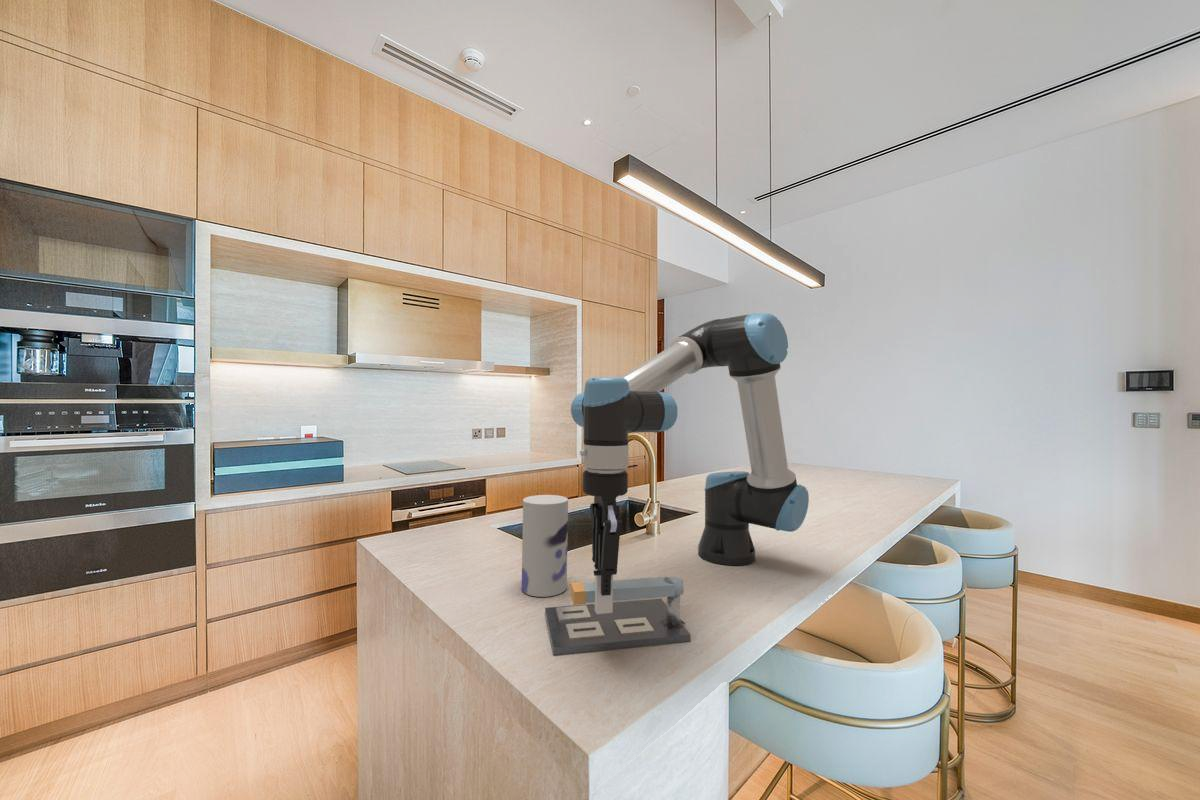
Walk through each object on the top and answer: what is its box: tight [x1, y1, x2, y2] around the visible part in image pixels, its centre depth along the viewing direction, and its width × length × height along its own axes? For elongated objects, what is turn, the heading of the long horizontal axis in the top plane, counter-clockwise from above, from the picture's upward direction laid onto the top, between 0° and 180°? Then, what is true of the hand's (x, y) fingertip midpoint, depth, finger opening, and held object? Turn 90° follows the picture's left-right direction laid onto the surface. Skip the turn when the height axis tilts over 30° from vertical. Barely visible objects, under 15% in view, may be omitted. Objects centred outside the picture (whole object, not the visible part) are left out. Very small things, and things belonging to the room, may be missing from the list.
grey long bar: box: [570, 576, 685, 605], centre depth 82 cm, size 21×4×2 cm, turn 102°
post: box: [661, 595, 686, 629], centre depth 84 cm, size 4×4×7 cm
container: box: [521, 494, 569, 598], centre depth 102 cm, size 10×10×20 cm
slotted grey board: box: [544, 598, 692, 656], centre depth 84 cm, size 24×15×2 cm, turn 102°
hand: (603, 611), depth 76 cm, fingers closed
